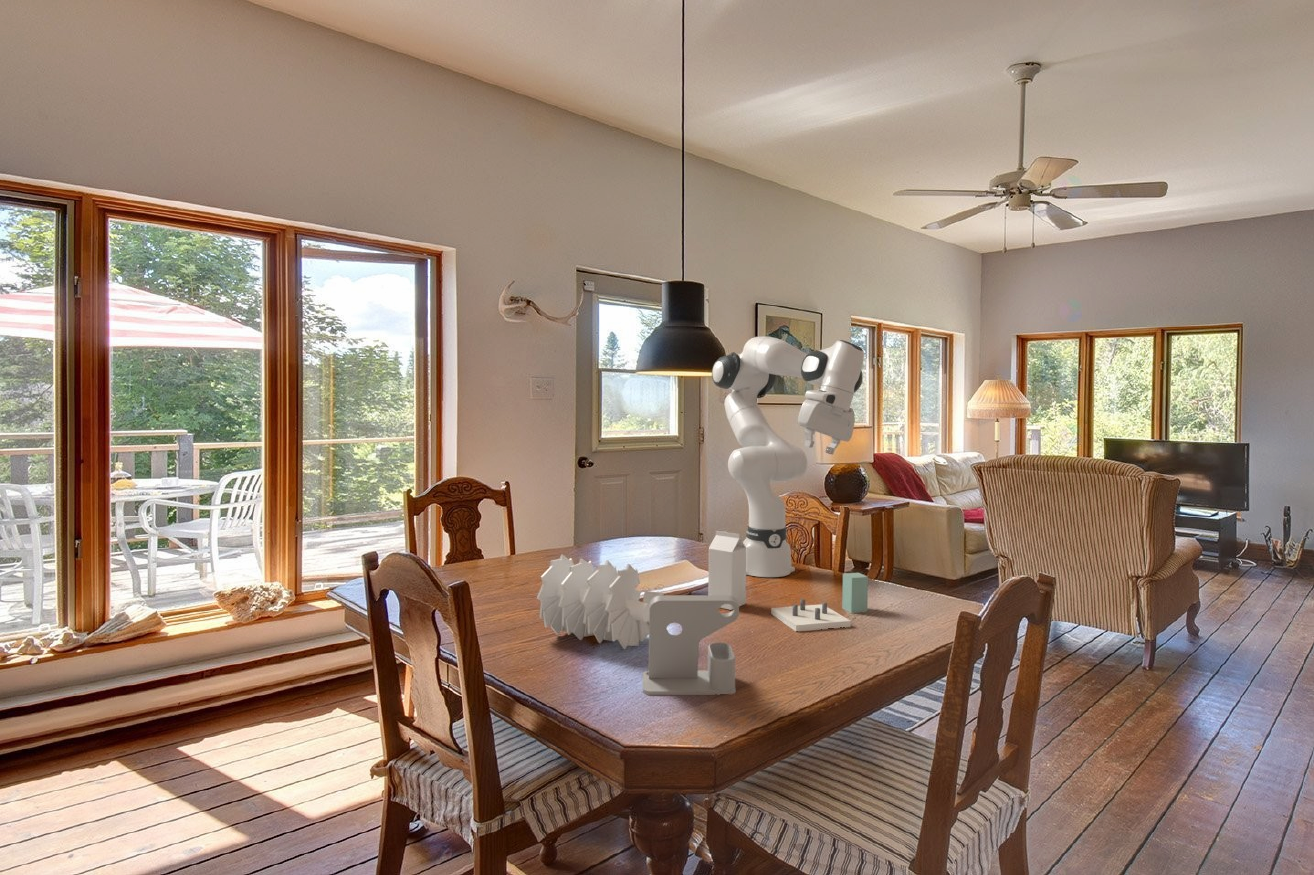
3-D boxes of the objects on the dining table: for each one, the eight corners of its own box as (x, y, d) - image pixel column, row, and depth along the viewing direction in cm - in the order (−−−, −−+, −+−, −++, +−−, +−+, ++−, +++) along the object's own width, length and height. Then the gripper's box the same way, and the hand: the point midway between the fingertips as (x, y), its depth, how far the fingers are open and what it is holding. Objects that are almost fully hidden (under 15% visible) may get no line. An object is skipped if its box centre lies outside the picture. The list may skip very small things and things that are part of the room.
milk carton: (731, 610, 184) (732, 536, 183) (707, 605, 188) (708, 533, 187) (745, 604, 189) (746, 532, 188) (722, 599, 194) (723, 529, 192)
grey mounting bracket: (731, 673, 142) (732, 583, 141) (738, 695, 132) (739, 597, 131) (642, 674, 142) (642, 583, 141) (643, 695, 132) (643, 597, 130)
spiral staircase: (633, 673, 152) (540, 646, 165) (672, 618, 166) (582, 597, 178) (617, 606, 144) (519, 583, 157) (658, 553, 157) (565, 536, 170)
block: (842, 608, 186) (842, 573, 186) (857, 607, 187) (858, 572, 187) (851, 613, 182) (852, 577, 181) (867, 612, 183) (868, 576, 183)
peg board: (771, 614, 181) (771, 598, 181) (822, 610, 185) (822, 594, 184) (795, 631, 168) (796, 614, 167) (850, 627, 171) (850, 610, 171)
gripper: (846, 407, 203) (831, 455, 203) (802, 389, 190) (786, 440, 190) (865, 411, 198) (850, 460, 198) (821, 393, 185) (805, 445, 185)
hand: (818, 450), depth 194 cm, fingers open, 8 cm apart
